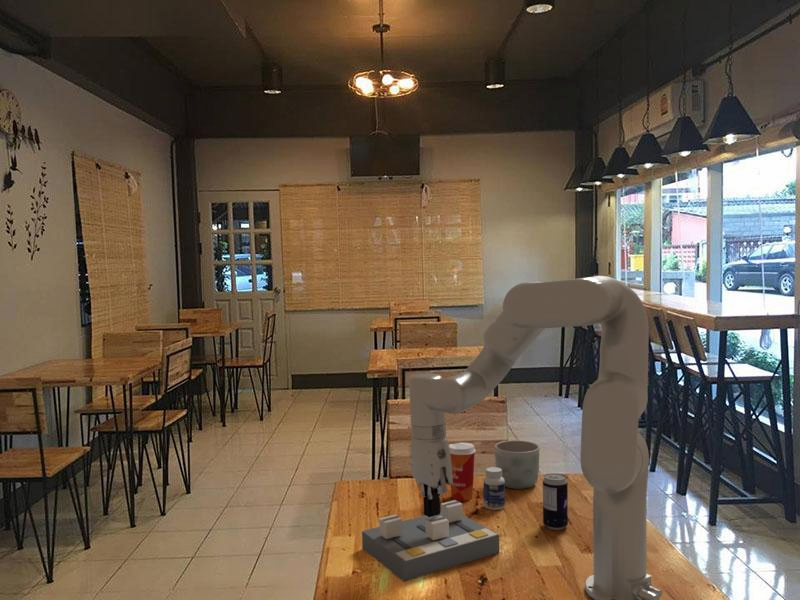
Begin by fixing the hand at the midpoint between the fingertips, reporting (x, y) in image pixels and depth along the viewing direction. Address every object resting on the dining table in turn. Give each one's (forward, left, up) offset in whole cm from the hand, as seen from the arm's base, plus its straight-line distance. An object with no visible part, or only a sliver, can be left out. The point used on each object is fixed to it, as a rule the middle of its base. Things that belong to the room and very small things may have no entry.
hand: (432, 514), depth 146 cm
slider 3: (+4, -8, -4) cm, 9 cm away
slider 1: (+4, +8, -4) cm, 10 cm away
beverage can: (-4, -32, -8) cm, 33 cm away
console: (+1, 0, -8) cm, 8 cm away
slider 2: (-2, 0, -4) cm, 5 cm away
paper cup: (+24, -25, -8) cm, 35 cm away
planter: (+24, -44, -8) cm, 50 cm away
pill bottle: (+14, -28, -8) cm, 32 cm away
